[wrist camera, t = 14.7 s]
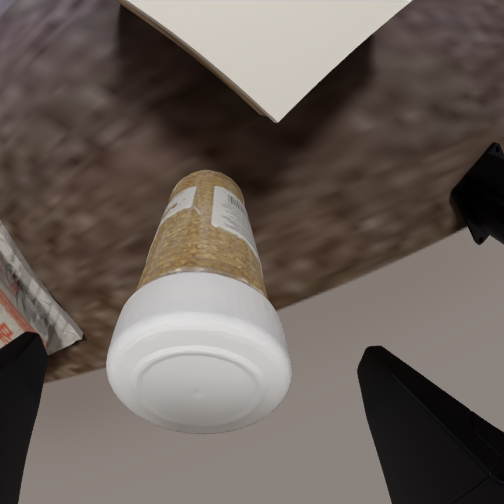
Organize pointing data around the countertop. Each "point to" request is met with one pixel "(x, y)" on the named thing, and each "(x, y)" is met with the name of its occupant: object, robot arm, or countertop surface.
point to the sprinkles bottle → (201, 319)
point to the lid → (271, 40)
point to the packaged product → (29, 303)
